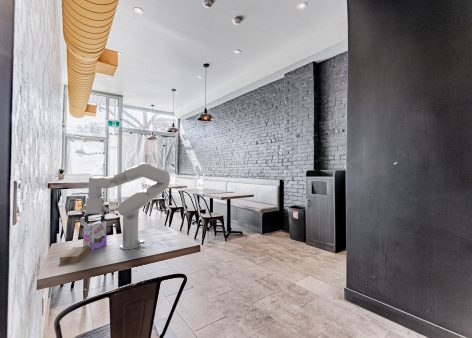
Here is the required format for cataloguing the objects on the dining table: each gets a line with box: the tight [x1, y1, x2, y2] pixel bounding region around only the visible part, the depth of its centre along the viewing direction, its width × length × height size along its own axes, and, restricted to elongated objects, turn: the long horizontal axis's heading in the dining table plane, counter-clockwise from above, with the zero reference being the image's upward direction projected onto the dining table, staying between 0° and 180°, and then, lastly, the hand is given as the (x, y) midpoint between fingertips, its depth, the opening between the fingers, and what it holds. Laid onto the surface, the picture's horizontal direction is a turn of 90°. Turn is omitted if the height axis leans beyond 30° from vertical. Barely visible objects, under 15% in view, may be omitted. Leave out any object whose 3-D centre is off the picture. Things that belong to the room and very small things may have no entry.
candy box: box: [82, 220, 107, 253], centre depth 156 cm, size 14×6×16 cm, turn 169°
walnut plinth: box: [59, 245, 90, 265], centre depth 140 cm, size 9×17×4 cm, turn 13°
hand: (94, 221), depth 156 cm, fingers open, 9 cm apart
